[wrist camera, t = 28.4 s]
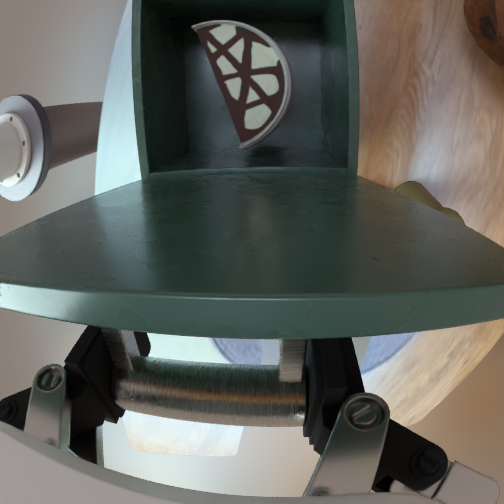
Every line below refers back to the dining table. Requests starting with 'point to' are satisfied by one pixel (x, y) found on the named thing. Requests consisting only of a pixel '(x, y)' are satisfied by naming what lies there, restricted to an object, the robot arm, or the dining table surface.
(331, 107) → the waste bin
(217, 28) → the food container
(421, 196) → the olive pawn figure
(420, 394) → the dining table surface
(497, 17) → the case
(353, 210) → the bin lid
